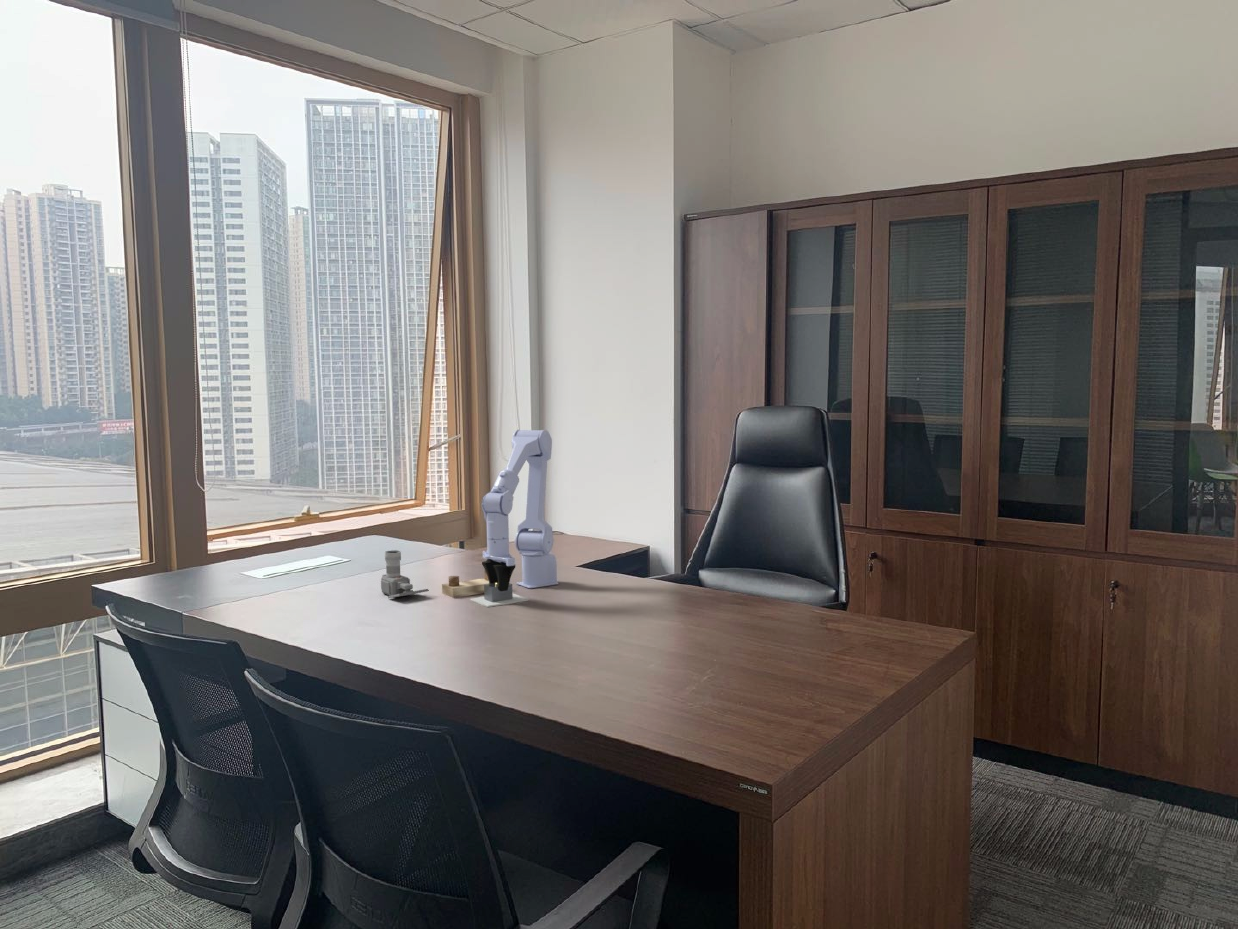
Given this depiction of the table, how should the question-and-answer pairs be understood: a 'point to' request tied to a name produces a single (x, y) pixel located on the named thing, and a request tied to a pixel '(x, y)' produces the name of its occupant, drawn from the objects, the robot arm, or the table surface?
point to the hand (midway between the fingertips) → (499, 589)
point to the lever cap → (497, 592)
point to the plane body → (464, 586)
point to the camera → (396, 577)
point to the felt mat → (489, 604)
